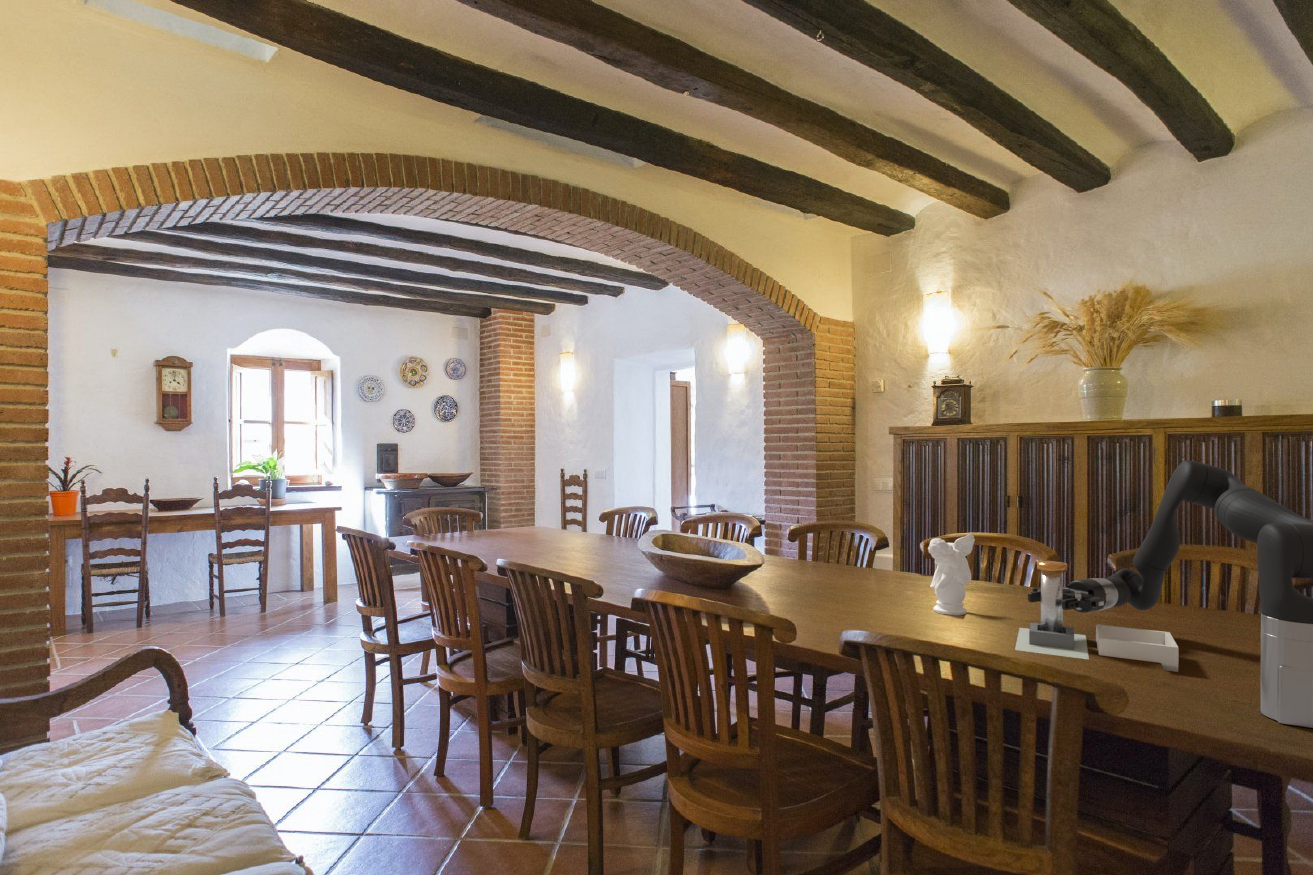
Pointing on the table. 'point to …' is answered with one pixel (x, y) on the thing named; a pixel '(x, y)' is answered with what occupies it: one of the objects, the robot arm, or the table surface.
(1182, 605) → the table surface
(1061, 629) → the steel pin
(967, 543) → the cherub figurine
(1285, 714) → the robot arm
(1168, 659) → the tray
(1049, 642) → the hitch plate
